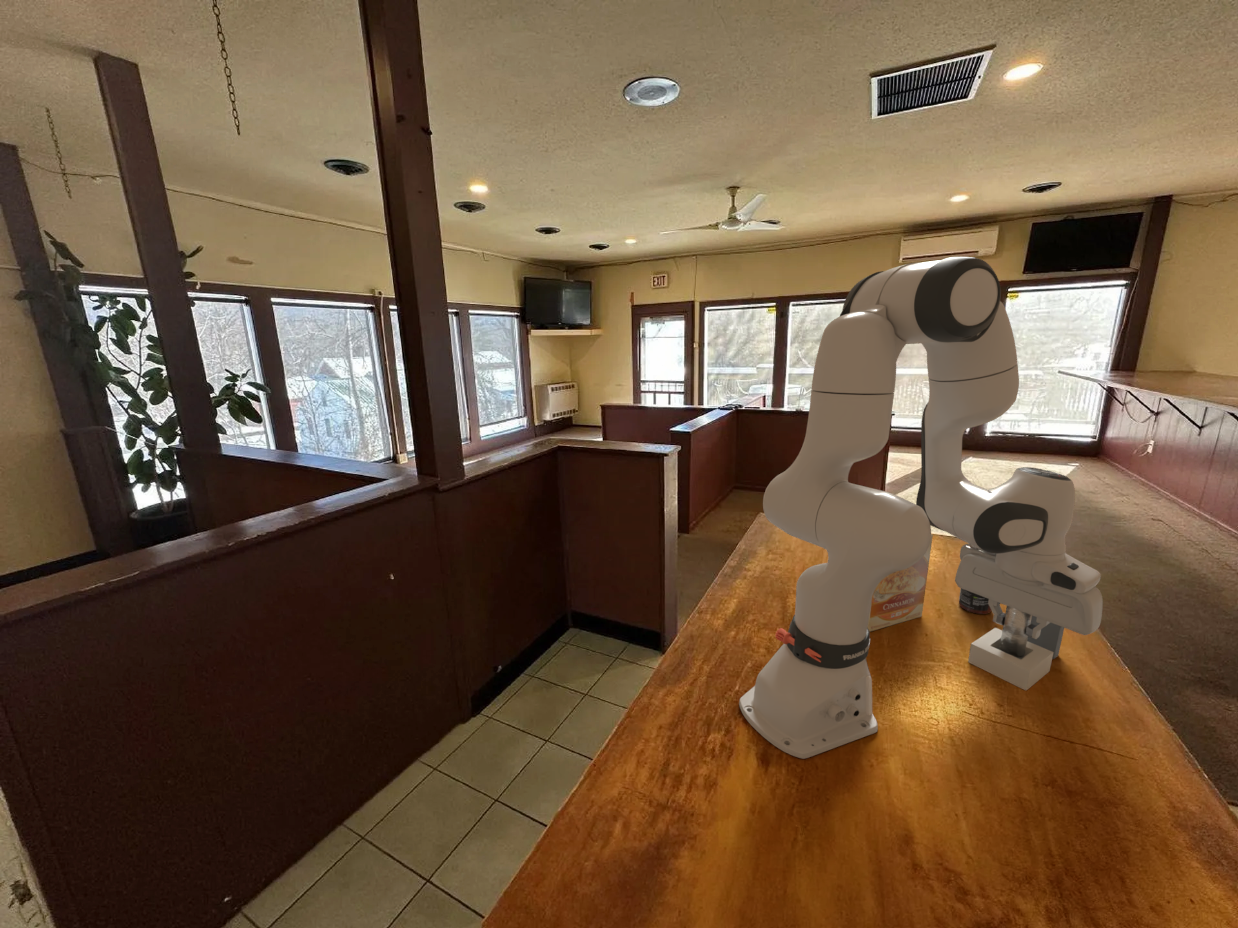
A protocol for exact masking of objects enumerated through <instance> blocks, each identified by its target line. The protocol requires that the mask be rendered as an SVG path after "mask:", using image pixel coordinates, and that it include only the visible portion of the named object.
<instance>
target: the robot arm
mask: <svg viewBox="0 0 1238 928" xmlns="http://www.w3.org/2000/svg"><path fill="white" fill-rule="evenodd" d="M1000 284H1001V283H1000V280H999V278H998V275H997V274H996V272H995V271H994V268H992V266H991V265H990V264H989V263H988V262H986V261H985V260H983V259H981V258H977V257H972V256H971V257H969V256H951V257H946V258H943V259H941V260H931V261H922V262H909V263H906V264H903V265H899V266H896V267H895V266H894V267H893V268H889V269H887V270H881V271H877V272H874V273H872V274H870V275H867V276H866V277H864V278H862V279H861V280H859V281H857V282H856V284H854V286H853V287H852V288H851V289H850V290H849V292H848V294H847V296H846V298H845V300H844V303H843V305H842V310H841V313H840V314H839V316H838V317H836V318H834V319H833V320H831V321H830V322H829V323H828V324H827V325H826V327H825V328H824V330H823V332H822V337H821V339H820V342H819V347H818V350H817V354H816V358H815V362H814V367H813V373H812V381H811V390H810V391H811V392H810V402H809V411H808V418H807V424H806V431H805V437H804V440H803V443H802V447H801V449H800V451H799V453H798V455H797V456H796V458H795V460H793V462H792V464H790V466H788V468H787V469H786V470H785V471H783V472H781V473H780V474H777V475H776V476H775V477H774V478H773V479H772V480H771V481H770V482H769V484H768V485H767V487H766V488H765V492H764V493H763V499H762V507H763V512H764V516H765V518H766V519H767V521H768V522H769V523H771V524H772V525H773V526H775V527H776V528H778V529H780V530H781V531H783V532H784V533H786V534H787V535H789V536H791V537H793V538H797V539H799V540H801V541H804V542H806V543H810V544H812V545H815V546H817V547H820V548H823V550H826V552H827V557H828V558H827V562H823V563H818V564H815V565H812V566H809V567H808V568H806V569H805V570H804V571H803V572H802V573H801V575H800V576H799V577H798V579H797V581H796V589H795V590H796V591H795V607H794V608H795V609H794V615H793V617H792V619H791V621H790V624H789V628H788V631H787V630H786V629H784V628H782V627H779V628H778V629H777V630H776V632H775V639H776V640H778V641H779V642H782V643H783V644H782V645H781V646H780V648H778V650H777V651H776V652H775V653H774V655H772V657H771V658H770V659H769V661H768V662H767V663H766V664H765V666H764V667H762V669H761V670H760V671H759V673H758V674H757V677H756V680H755V684H754V686H752V687H751V688H750V689H749V690H748V691H747V692H745V693H744V694H743V695H742V696H741V697H740V698H739V702H738V705H739V709H740V711H741V713H742V715H743V716H744V718H745V719H746V721H747V722H748V723H749V724H750V725H751V727H752V728H753V729H754V730H756V732H757V733H758V734H760V735H761V736H762V737H763V738H764V739H765V740H766V741H768V742H769V743H770V744H772V745H773V746H774V747H776V748H778V749H779V750H780V751H782V752H784V753H786V754H788V755H791V756H793V757H796V758H799V759H803V760H804V759H808V758H810V757H811V758H812V757H814V756H816V755H819V754H823V753H824V752H827V751H830V750H832V749H835V748H837V747H840V746H844V745H846V744H849V743H851V742H855V741H856V740H859V739H862V738H864V737H867V736H870V735H873V734H875V733H877V732H878V730H879V729H878V728H879V726H878V721H877V719H876V717H875V716H874V714H873V680H872V679H873V678H872V676H871V673H870V669H869V666H868V662H867V657H868V656H869V648H870V646H871V644H870V643H871V638H870V636H871V634H870V632H869V629H868V619H869V611H870V605H871V601H872V596H873V593H874V591H875V589H876V587H877V585H878V584H879V583H880V582H881V580H883V579H884V578H885V577H886V576H888V575H890V574H892V573H894V572H897V571H901V570H904V569H906V568H909V567H911V566H912V565H914V564H915V563H917V562H918V561H919V560H920V559H921V558H922V557H923V556H924V554H925V553H926V551H927V549H928V547H929V544H930V540H931V534H932V527H934V528H936V529H938V530H940V531H942V532H943V531H944V532H946V533H948V534H949V535H952V536H953V537H955V538H957V539H959V540H960V541H962V542H965V544H963V545H962V546H961V547H960V551H959V558H960V562H959V564H958V567H957V570H956V573H955V577H954V582H955V584H956V585H957V587H958V588H959V589H961V588H962V589H964V590H967V591H970V592H972V593H975V594H978V595H980V596H983V597H985V598H988V599H989V601H988V604H989V606H990V608H991V612H992V614H993V617H992V623H995V624H998V625H1001V626H1003V624H1004V619H1005V613H1006V612H1003V610H1002V607H1001V604H1002V605H1003V606H1006V607H1007V606H1009V607H1012V608H1015V609H1017V610H1019V611H1022V612H1025V613H1027V614H1030V615H1032V616H1035V617H1037V620H1036V622H1037V623H1040V624H1039V625H1037V626H1036V625H1033V624H1030V626H1028V627H1027V628H1026V631H1027V632H1026V634H1025V635H1027V636H1029V637H1031V638H1034V639H1037V638H1038V637H1039V636H1040V632H1041V629H1042V628H1044V627H1045V626H1047V625H1048V624H1049V623H1053V624H1056V625H1059V626H1061V627H1064V629H1067V630H1070V631H1072V632H1075V633H1077V634H1080V635H1081V636H1087V635H1091V634H1092V633H1094V632H1096V631H1097V630H1098V629H1099V628H1100V625H1101V623H1102V617H1103V605H1104V603H1103V596H1102V595H1103V594H1102V593H1101V591H1100V590H1099V588H1098V587H1097V585H1098V584H1099V582H1100V581H1101V577H1102V573H1100V572H1099V571H1098V570H1097V569H1095V568H1093V567H1091V566H1089V565H1087V564H1086V563H1083V562H1082V561H1080V560H1079V559H1076V558H1075V557H1073V556H1071V555H1069V554H1068V553H1067V552H1066V551H1067V545H1066V535H1067V534H1068V532H1069V530H1070V528H1071V526H1072V522H1073V518H1074V512H1075V504H1076V502H1075V501H1076V490H1075V489H1076V488H1075V484H1074V482H1073V480H1072V479H1071V478H1069V477H1068V476H1066V475H1064V474H1062V473H1058V472H1056V471H1055V472H1054V471H1051V470H1047V469H1046V470H1045V469H1042V468H1038V467H1028V466H1027V467H1026V466H1024V467H1018V468H1016V469H1015V470H1014V472H1013V474H1012V476H1011V477H1010V478H1009V479H1008V480H1006V481H1005V482H1003V483H1001V484H1000V485H998V486H995V487H994V488H989V489H987V488H984V487H981V486H980V485H977V484H974V483H973V482H971V481H970V480H969V479H968V478H967V477H966V476H965V475H964V473H963V471H962V461H963V460H962V456H963V454H962V453H963V452H962V451H963V436H964V433H965V431H966V430H967V429H971V428H975V427H978V426H982V425H984V424H989V423H990V422H992V421H995V420H996V419H998V418H1000V417H1001V416H1003V415H1004V414H1005V413H1006V412H1007V411H1009V410H1010V408H1011V407H1013V405H1014V404H1015V402H1016V400H1017V397H1018V394H1019V393H1018V392H1019V388H1020V387H1019V385H1020V376H1019V375H1020V374H1019V366H1018V365H1019V363H1018V355H1017V348H1016V347H1017V346H1016V342H1015V337H1014V333H1013V328H1012V325H1011V321H1010V319H1009V318H1010V317H1009V315H1008V312H1007V310H1006V307H1005V305H1004V303H1003V302H1002V301H1001V296H1002V290H1001V289H1002V288H1001V285H1000ZM915 344H921V345H922V346H923V348H924V349H925V351H926V363H927V364H926V367H927V368H926V369H927V376H928V389H929V393H928V394H929V395H928V402H927V403H926V404H925V406H924V408H923V412H922V417H921V427H920V428H921V429H920V439H921V440H920V448H921V449H920V454H921V457H920V459H921V461H920V462H921V463H920V465H921V467H920V468H921V472H920V473H921V475H920V476H921V477H920V483H919V488H918V491H917V495H916V501H915V503H914V502H912V501H910V500H908V499H906V498H903V497H901V496H899V495H896V494H894V493H892V492H889V491H886V490H885V491H884V490H881V489H876V488H872V487H868V486H863V485H859V484H855V483H851V482H849V474H850V471H851V468H852V466H853V465H854V463H857V462H860V461H863V460H866V459H869V458H871V457H873V456H875V455H877V454H878V453H880V452H881V451H882V450H883V449H884V447H885V446H886V444H887V443H888V440H889V437H890V429H891V421H892V413H893V404H894V399H895V398H894V397H895V389H896V382H897V381H896V379H897V361H898V358H899V357H900V354H901V353H902V350H903V349H904V348H905V346H906V345H915Z"/></svg>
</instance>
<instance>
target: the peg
mask: <svg viewBox="0 0 1238 928" xmlns="http://www.w3.org/2000/svg"><path fill="white" fill-rule="evenodd" d="M1004 613H1005V619H1004V624H1003V625H1002V629H1001V630H1002V636H1001V641H1000V647H999V648H1000V650H1001V651H1003V652H1005V653H1007V654H1010V655H1012V656H1014V657H1018V658H1020V657H1023V656H1024V655H1025V650H1026V645H1027V640H1028V636H1027V635H1025V634H1026V632H1027V631H1026V628H1027V627H1028V626H1030V624H1031V619H1032V615H1030V614H1027V613H1025V612H1022V611H1019V610H1017V609H1015V608H1012V607H1009V606H1006V609H1005V612H1004Z"/></svg>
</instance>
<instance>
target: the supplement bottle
mask: <svg viewBox="0 0 1238 928" xmlns="http://www.w3.org/2000/svg"><path fill="white" fill-rule="evenodd" d="M959 589H960V590H959V591H960V592H959V596H958V605H959V606H960V608H962V609H963V610H965V611H967V612H970V613H974V614H977V615H978V614H979V615H987V614H989V613H991V612H992V610H991V608H990V606H989V604H988V601H989V599H988V598H985V597H983V596H980V595H978V594H975V593H972V592H970V591H967V590H964V589H962V588H959Z"/></svg>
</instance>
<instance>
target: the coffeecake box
mask: <svg viewBox="0 0 1238 928" xmlns="http://www.w3.org/2000/svg"><path fill="white" fill-rule="evenodd" d="M933 536H934V535H933V534H932V533H931V540H930V544H929V547H928V549H927V551H926V553H925V554H924V556H923V557H922V558H921V559H920V560H919V561H918V562H917V563H915V564H914V565H912V566H911V567H909V568H906V569H904V570H901V571H897V572H894V573H892V574H890V575H888V576H886V577H885V578H884V579H883V580H881V582H880V583H879V584H878V585H877V587H876V589H875V591H874V593H873V596H872V601H871V605H870V611H869V619H868V629H869V633H870V632H873V631H877V630H880V629H883V628H887V627H891V626H893V625H894V626H895V625H897V624H901V623H903V622H904V623H905V622H907V621H910V620H914V619H917V618H921V617H923V611H924V602H925V596H926V595H925V594H926V587H927V580H928V573H929V564H930V558H931V550H932V544H933V543H932V542H933Z"/></svg>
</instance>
